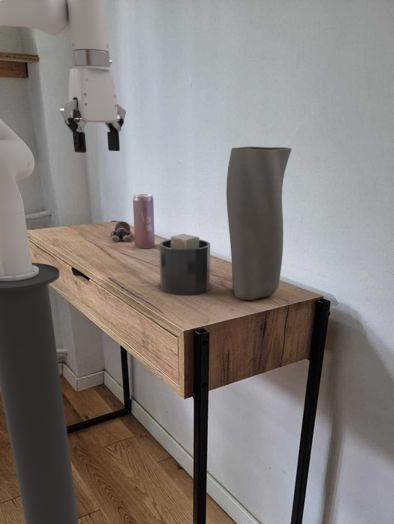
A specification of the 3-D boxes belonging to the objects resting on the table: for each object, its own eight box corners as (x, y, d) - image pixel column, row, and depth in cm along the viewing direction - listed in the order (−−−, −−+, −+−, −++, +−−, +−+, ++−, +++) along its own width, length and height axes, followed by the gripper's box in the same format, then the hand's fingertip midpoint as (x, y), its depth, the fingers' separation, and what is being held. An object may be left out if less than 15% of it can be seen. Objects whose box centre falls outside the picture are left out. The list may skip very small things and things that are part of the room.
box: (170, 284, 111) (169, 235, 106) (183, 280, 114) (182, 232, 109) (186, 289, 108) (186, 239, 103) (199, 284, 111) (200, 236, 106)
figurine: (134, 246, 153) (136, 233, 161) (134, 231, 150) (135, 219, 158) (108, 246, 153) (110, 233, 161) (106, 231, 150) (109, 219, 158)
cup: (188, 298, 104) (188, 252, 100) (150, 288, 110) (149, 244, 106) (219, 286, 112) (220, 243, 108) (182, 277, 118) (181, 236, 114)
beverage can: (151, 243, 151) (149, 193, 144) (157, 247, 146) (155, 196, 139) (132, 245, 149) (130, 194, 142) (138, 249, 144) (135, 197, 137)
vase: (249, 308, 99) (258, 149, 86) (212, 293, 108) (216, 147, 95) (291, 297, 105) (306, 148, 92) (253, 283, 114) (262, 145, 101)
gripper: (110, 67, 108) (115, 149, 116) (45, 59, 96) (55, 152, 103) (134, 65, 104) (137, 151, 111) (69, 56, 92) (77, 153, 99)
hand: (97, 151), depth 107 cm, fingers open, 9 cm apart
